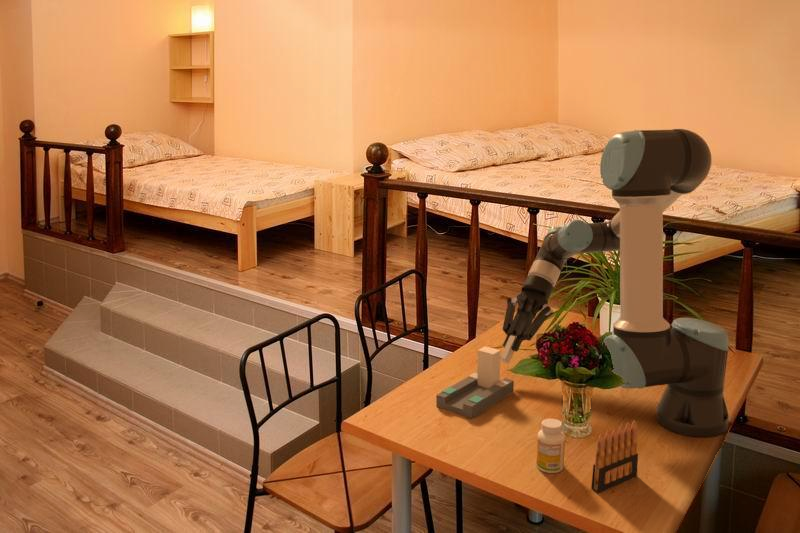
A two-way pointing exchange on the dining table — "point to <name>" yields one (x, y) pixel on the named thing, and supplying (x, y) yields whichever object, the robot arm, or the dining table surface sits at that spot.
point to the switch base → (473, 396)
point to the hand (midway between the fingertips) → (504, 360)
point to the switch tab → (488, 367)
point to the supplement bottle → (550, 446)
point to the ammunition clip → (615, 458)
